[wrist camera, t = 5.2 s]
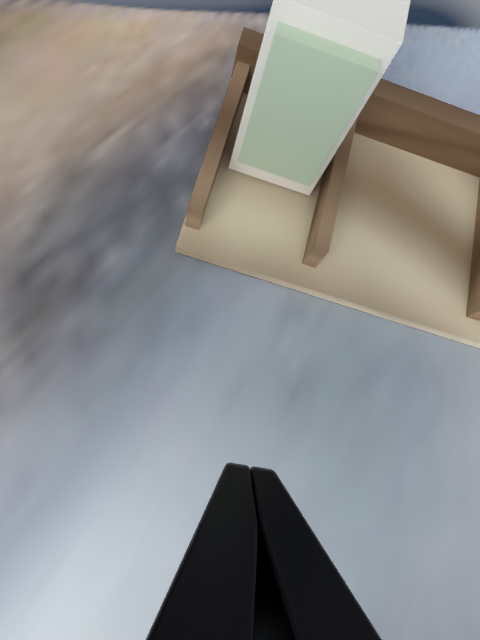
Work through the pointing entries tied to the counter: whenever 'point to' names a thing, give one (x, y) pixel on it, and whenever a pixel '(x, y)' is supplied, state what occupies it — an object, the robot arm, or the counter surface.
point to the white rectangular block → (313, 84)
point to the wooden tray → (355, 211)
